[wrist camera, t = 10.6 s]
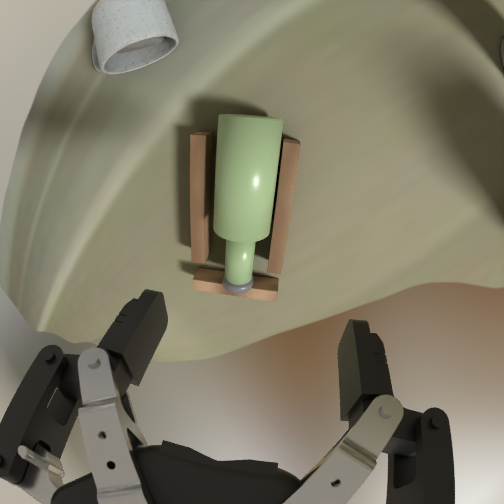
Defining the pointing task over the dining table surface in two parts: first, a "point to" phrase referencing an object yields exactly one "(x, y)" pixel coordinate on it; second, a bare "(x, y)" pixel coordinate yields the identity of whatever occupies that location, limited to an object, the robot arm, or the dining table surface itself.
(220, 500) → the robot arm
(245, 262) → the bottle
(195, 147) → the rest
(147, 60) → the ceramic mug
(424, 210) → the dining table surface
